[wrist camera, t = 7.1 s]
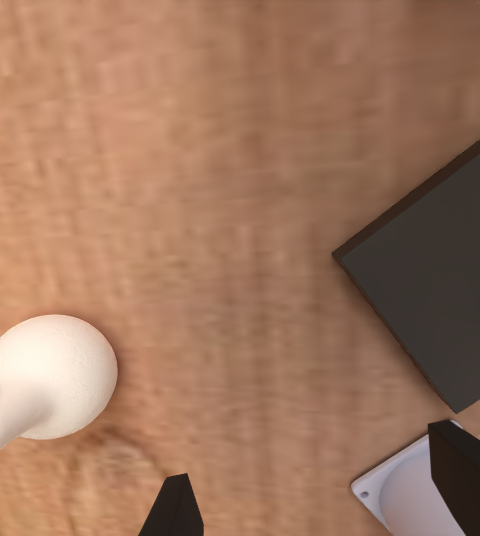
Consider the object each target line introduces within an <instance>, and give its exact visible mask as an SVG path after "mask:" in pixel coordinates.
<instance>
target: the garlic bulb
mask: <svg viewBox="0 0 480 536" xmlns="http://www.w3.org/2000/svg"><path fill="white" fill-rule="evenodd" d="M117 376H118V368H117V361H116V357H115V354H114V351H113V349H112V347H111V345H110V343H109V342H108V340H107V339H106V338H105V337H104V336H103V334H102V333H101V332H100V331H98V330H97V329H96V328H95V327H93V326H92V325H90V324H89V323H87V322H85V321H83V320H81V319H78V318H75V317H72V316H67V315H43V316H38V317H34V318H30V319H28V320H25V321H23V322H21V323H19V324H17V325H15V326H14V327H12V328H11V329H9V330H8V331H7V332H6V333H5V334H3V335H2V336H1V337H0V450H1V449H2V448H4V447H5V446H6V445H8V444H9V443H10V442H11V441H13V440H14V439H16V438H17V437H19V436H21V437H25V438H30V439H41V440H44V439H55V438H60V437H64V436H67V435H70V434H72V433H75V432H76V431H78V430H80V429H82V428H84V427H85V426H87V425H88V424H89V423H91V422H92V421H93V420H94V419H95V418H96V417H97V416H98V415H99V414H100V413H101V412H102V411H103V410H104V408H105V407H106V406H107V404H108V402H109V400H110V398H111V396H112V394H113V392H114V389H115V386H116V382H117Z"/></svg>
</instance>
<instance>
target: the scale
mask: <svg viewBox="0 0 480 536" xmlns="http://www.w3.org/2000/svg"><path fill="white" fill-rule="evenodd" d="M332 254H333V256H334V257H335V258H336V260H337V261H338V262H339V264H340V265H341V266H342V268H343V269H344V270H345V272H346V273H347V274H348V276H349V277H350V278H351V280H352V281H353V282H354V284H355V285H356V286H357V288H358V289H359V290H360V292H361V293H362V294H363V296H364V297H365V298H366V300H367V301H368V302H369V304H370V305H371V306H372V308H373V309H374V310H375V312H376V313H377V314H378V316H379V317H380V318H381V319H382V321H383V322H384V323H385V325H386V326H387V327H388V329H389V330H390V331H391V333H392V334H393V335H394V337H395V338H396V339H397V341H398V342H399V343H400V345H401V346H402V347H403V349H404V350H405V351H406V353H407V354H408V355H409V357H410V358H411V359H412V361H413V362H414V363H415V365H416V366H417V367H418V369H419V370H420V371H421V373H422V374H423V375H424V377H425V378H426V379H427V380H428V382H429V383H430V384H431V386H432V387H433V388H434V390H435V391H436V392H437V394H438V395H439V396H440V398H441V399H442V400H443V401H444V402H445V403H446V404H447V405H448V406H449V407H450V408H451V409H452V410H453V412H454V413H455V414H458V413H459V412H461V411H462V410H464V409H465V408H467V407H469V406H470V405H472V404H473V403H475V402H476V401H478V400H479V399H480V140H479V141H478V142H477V143H475V144H474V145H473V146H471V147H470V148H469V149H467V150H466V151H465V152H463V153H462V154H461V155H460V156H458V157H457V158H456V159H454V160H453V161H452V162H450V163H449V164H448V165H446V166H445V167H444V168H443V169H441V170H440V171H439V172H437V173H436V174H435V175H433V176H432V177H431V178H429V179H428V180H427V181H426V182H424V183H423V184H422V185H420V186H419V187H418V188H416V189H415V190H414V191H413V192H411V193H410V194H409V195H407V196H406V197H405V198H403V199H402V200H401V201H399V202H398V203H397V204H396V205H394V206H393V207H392V208H390V209H389V210H388V211H386V212H385V213H384V214H382V215H381V216H380V217H379V218H377V219H376V220H375V221H373V222H372V223H371V224H369V225H368V226H367V227H365V228H364V229H363V230H362V231H360V232H359V233H358V234H356V235H355V236H354V237H352V238H351V239H350V240H348V241H347V242H346V243H345V244H343V245H342V246H341V247H339V248H338V249H337V250H335V251H334V252H333V253H332Z"/></svg>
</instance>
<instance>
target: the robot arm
mask: <svg viewBox="0 0 480 536" xmlns="http://www.w3.org/2000/svg"><path fill="white" fill-rule="evenodd" d="M351 489H352V492H353V493H354V495H355V496H356V497H357V498H358V499H359V500H360V501H361V502H362V503H363V504H364V505H365V506H366V507H367V508H368V509H369V511H370V512H371V513H372V514H373V515H374V516H375V517H376V518H377V519H378V520H379V521H380V522H381V523H382V524H383V525H384V526H385V527H386V529H387V530H388V531H389V532H390V533H391V534H392V536H480V440H478V439H477V438H475V437H474V436H472V435H471V434H469V433H468V432H466V431H465V430H463V428H462V427H461V426H460V425H459V424H458V422H456V421H454V420H444V421H439V422H435V423H430V424H428V434H427V435H425V436H424V437H422V438H420V439H419V440H417V441H416V442H414V443H413V444H411V445H410V446H408V447H406V448H405V449H403V450H402V451H400V452H399V453H397V454H396V455H394V456H392V457H391V458H389V459H388V460H386V461H385V462H383V463H381V464H380V465H378V466H377V467H375V468H374V469H372V470H371V471H369V472H367V473H366V474H364V475H363V476H361V477H360V478H358V479H357V480H355V481H354V482H353V483H352V484H351ZM138 536H204V524H203V521H202V518H201V515H200V511H199V508H198V505H197V502H196V499H195V496H194V493H193V490H192V486H191V483H190V480H189V477H188V474H187V473H185V474H180V475H175V476H170V477H167V478H166V480H165V481H164V483H163V485H162V487H161V490H160V492H159V494H158V496H157V498H156V500H155V502H154V504H153V507H152V509H151V511H150V513H149V515H148V517H147V519H146V521H145V523H144V525H143V527H142V529H141V531H140V533H139V535H138Z"/></svg>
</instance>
